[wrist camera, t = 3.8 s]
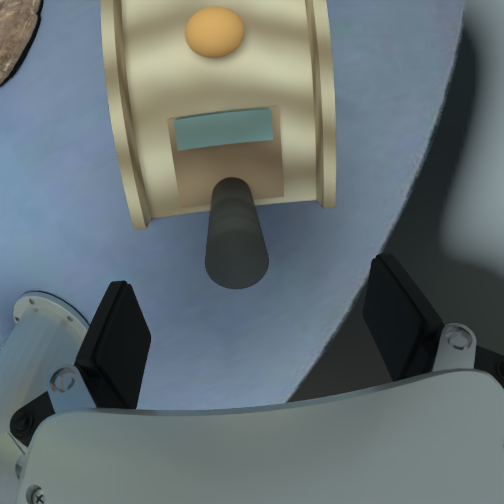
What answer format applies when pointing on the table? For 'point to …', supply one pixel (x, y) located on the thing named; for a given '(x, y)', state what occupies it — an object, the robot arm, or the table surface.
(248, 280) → the kicker
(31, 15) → the shell
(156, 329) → the table surface
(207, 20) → the ball
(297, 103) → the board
